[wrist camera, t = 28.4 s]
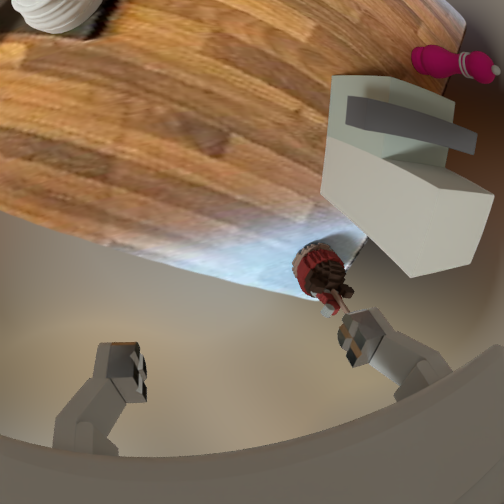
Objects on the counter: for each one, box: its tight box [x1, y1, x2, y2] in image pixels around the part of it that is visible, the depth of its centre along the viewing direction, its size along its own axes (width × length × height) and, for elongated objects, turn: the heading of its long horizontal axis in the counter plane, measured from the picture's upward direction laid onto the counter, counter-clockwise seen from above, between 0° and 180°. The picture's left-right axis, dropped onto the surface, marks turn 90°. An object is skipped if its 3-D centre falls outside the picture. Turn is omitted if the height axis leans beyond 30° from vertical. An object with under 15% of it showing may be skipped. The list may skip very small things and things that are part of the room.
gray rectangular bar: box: [345, 96, 477, 155], centre depth 28 cm, size 22×4×4 cm, turn 88°
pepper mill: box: [411, 45, 501, 84], centre depth 30 cm, size 7×7×20 cm
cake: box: [292, 242, 354, 318], centre depth 51 cm, size 11×9×18 cm
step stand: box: [320, 75, 494, 278], centre depth 35 cm, size 14×22×26 cm, turn 178°
